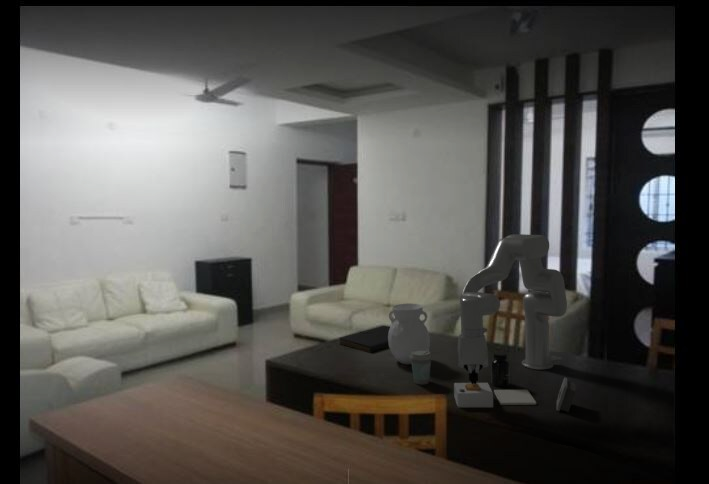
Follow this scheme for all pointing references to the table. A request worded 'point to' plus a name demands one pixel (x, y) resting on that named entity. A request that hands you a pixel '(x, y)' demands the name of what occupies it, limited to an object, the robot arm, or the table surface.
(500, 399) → the pad
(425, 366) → the coffee cup
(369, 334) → the file folder
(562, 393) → the electrical switch
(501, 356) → the supplement bottle
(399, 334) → the grey vase
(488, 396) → the box
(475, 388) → the button
